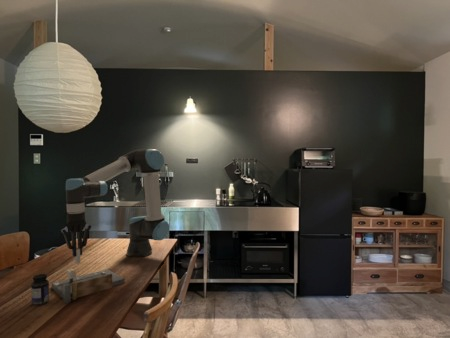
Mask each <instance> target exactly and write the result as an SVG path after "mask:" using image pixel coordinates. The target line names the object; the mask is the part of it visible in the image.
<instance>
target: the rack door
mask: <svg viewBox="0 0 450 338" xmlns="http://www.w3.org/2000/svg"><path fill="white" fill-rule="evenodd" d="M109 289H113V286H112V274H108V275H104V276H100V277H96V278H92V279H88V280H85V281H81V282H72V298H71V299H72V300H71V301H75V300H77V299H78V298H81V297H83V296H87V295H92V294H94V293H98V292H102V291H104V290H109Z"/></svg>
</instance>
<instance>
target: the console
mask: <svg viewBox="0 0 450 338" xmlns="http://www.w3.org/2000/svg"><path fill="white" fill-rule="evenodd" d="M108 274H112V287H115V286H119V285H122V284H125V278H124V277H122V276H121V275H119V274H117V273H115V272H113V271H111V270H110V269H108V268H107V269H103V270H100V271H96V272H91V273H87V274H84V275H79V276H76V278H73V282H81V281H85V280H88V279H92V278H96V277H100V276H104V275H108ZM65 283H69V284H70V293H71V299H72V282H70V278H66V279H63V280H59V281H54V282H52V283H51V288H52V289H53V291H55V292H56V293H57V294H58V295H59V296H60V297H61V298H62V299H63V284H65Z"/></svg>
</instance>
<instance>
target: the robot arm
mask: <svg viewBox="0 0 450 338" xmlns="http://www.w3.org/2000/svg"><path fill="white" fill-rule="evenodd" d="M164 164H165V157H164V155H163V154H162V152H161V151H160V150H158V149H157V148H155V149H153V148H148V149H144V148H143V149H135V150H131V151H129V152H128V153H126V154H124V155H122V156H120V157H118V159H117V160H115V161H114V162H111V163H109V164H106V165H105V166H104V167H103V166H102V167H101V168H99V169H97V170H95V171H93V172H92V173H89V174H87V175H86V176H83V177H78V178H68V179H66V181H65V200H66V203H65V204H66V205H65V206H66V212H67V213H66V225H65V227H64V228H60V232H61V233H62V234H63V238H64V240H65V244H66V246H67V248H68V249H69V250H71V251H72V257H74V263H76V264H77V265H79V264H81V256H82V255H83V249H84V247H87V243H88V239H89V233H90V230H91V229H92V225H90V224H87V222H86V212H85V211H86V208H85V207H86V205H85V199H88V198H94V197H102V196H105V195H106V194H107V192H108V184H107V181H110V180H112V179H113V178H115V177H117V176H119V175H120V174H122V173H124V172H126V173H127V172H128V173H129V172H131V170H132V171H133V170H140V171H139V172H140V174H141V175H142V177H143V184H144V186H143V187H144V188H143V189H144V197H145V198H144V199H145V209H146V215H139V216H135V217H131V218H130V219H129V225H128V226H129V228H128V229H129V243H128V246H127V250H126V256H127V257H132V258H135V257H136V258H139V257H141V258H142V257H147V256H150V255H152V253H153V249H152V248H153V247H152V245H151V242H150V240H153V241H163V240H164V239H165V238H166V237H167V236H168V235H169V232H170V224H169V223H168V221H167V220H166V219H165V215H164V214H163V213H162V202H161V193H160V192H161V190H160V189H161V188H160V179H159V177H160V176H159V174H160V173H161V172H162V171H161V169H162V168H163V167H164ZM83 231H84V232H83ZM68 232H70V234H71V235H70V236H71V239H70V236H69V233H68Z"/></svg>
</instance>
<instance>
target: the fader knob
mask: <svg viewBox="0 0 450 338" xmlns="http://www.w3.org/2000/svg"><path fill="white" fill-rule="evenodd" d="M66 277H67V279H70V282H73V278H76V277H77V271H76V270H75V269H74V268H69V269H66Z"/></svg>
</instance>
